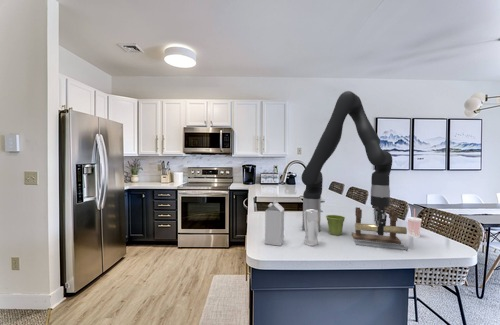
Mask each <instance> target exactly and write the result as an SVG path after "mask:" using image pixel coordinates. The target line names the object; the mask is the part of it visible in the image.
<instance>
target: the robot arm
mask: <svg viewBox="0 0 500 325" xmlns="http://www.w3.org/2000/svg"><path fill="white" fill-rule="evenodd" d="M348 115H349V117H351V118H350V119H352V121H353V123H354V125H355V129H356V131H357V132H356V133H357V135H358V137H359V139H360V141H361V143H362V144H363V146H364V149H365V150H364V151H365V153H366V156H367V159H368V161H369V163H370V164H371V165H373V166H374V167H375V171H373V172H372V173H371V181H370V182H371V187H370V205H371V206H373V207H375V208H374V209H373V215H374V217H373V218H374V223H375V225H377V226H378V232H376V234H377V235H384V233H385V232H384V227H385V226H387V225H386V224H387V218H388V216H387V211H386V209H385V208H389V207H390V206H391V190H390V189H391V188H390V174H391V171H392V167H393V155H392V154H391V152H390V151H387V150H383V149H382V148H381V145H380V144H381V139H380V137H379V136H378V134H377V132H376V130H375V128H374V127H373V125H372V124H371V122H370V120H369V117H367V114H366V112H365V109H364V106H363V103H362V100H361V98H360V97H359V96H358V95H357V94H356V93H354V92H353V91H351V90H345V91H344V92H342V93H341V94H340V95H339V96H338V98H337V100H336V102H335V105H334V108H333V111H332V113H331V116H330V119H328V122H327V124H326V127H325V129H324V130H323V133H322V134H321V137H320V139H319V140H318V143H317V145H316V147H315V149H314V152H313V154H312V156H311V158H310V160H309V161H308V164H307V165H306V167H305V168H304V170H303V171H302V174H301V182H302V183H303V184H304V185H305V190H304V191H303V193H302V194H303V195H302V200H303V201H302V203H303V204H302V231H305V228H304V210H306V209H315V210H319V214H320V219H321V210H322V208H321V207H322V206H321V202H322V200H321V199H322V192H323V180H324V179H323V177H324V176H323V173H322V172H321V171H322V169H323V167H324V166H325V164H326V162H327V161H328V160H329V159H330V157H331V156H332V155H333V154H334V152H335V151H336V149H337V147H338V146H339V143H340V141H341V139H342V136H343V135H342V134H343V127H344V122H345V120H346V118H347V117H348ZM318 232H321V223H320V224H319V230H318ZM384 236H385V235H384Z"/></svg>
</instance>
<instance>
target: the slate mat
mask: <svg viewBox="0 0 500 325" xmlns="http://www.w3.org/2000/svg"><path fill="white" fill-rule="evenodd" d="M353 242H354V244H355V246H362V247H372V248H379V249H380V248H381V249H390V250H398V251H399V250H400V251H408V248H407V247H406V246H405V245H404V244H402V243H401V244H397V243H387V242H377V241H367V240H357V239H353Z"/></svg>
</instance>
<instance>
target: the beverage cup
mask: <svg viewBox="0 0 500 325" xmlns="http://www.w3.org/2000/svg"><path fill="white" fill-rule="evenodd" d="M406 219H407V227H408V228H407V232H408V236H409V237H412V238H416V239H417V238H420V237H421V226H422V222H423V221H422V218H419V217H416V208H413V216H408V217H406Z"/></svg>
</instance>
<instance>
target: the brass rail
mask: <svg viewBox="0 0 500 325" xmlns="http://www.w3.org/2000/svg"><path fill="white" fill-rule="evenodd" d="M354 229H355V231H356V230H361V231H363V232H364V231H366V232H375V233H377V232H378V226H377V225H376V224H372V223H362V222H361V223H356V222H355V223H354ZM407 232H408V228H407V227H406V226H398V225H396V226H390V225H386V226H385V227H384V233H387V234H388V233H389V234H390V233H396V234H399V235H400V234H401V235H407V234H408V233H407Z"/></svg>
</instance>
